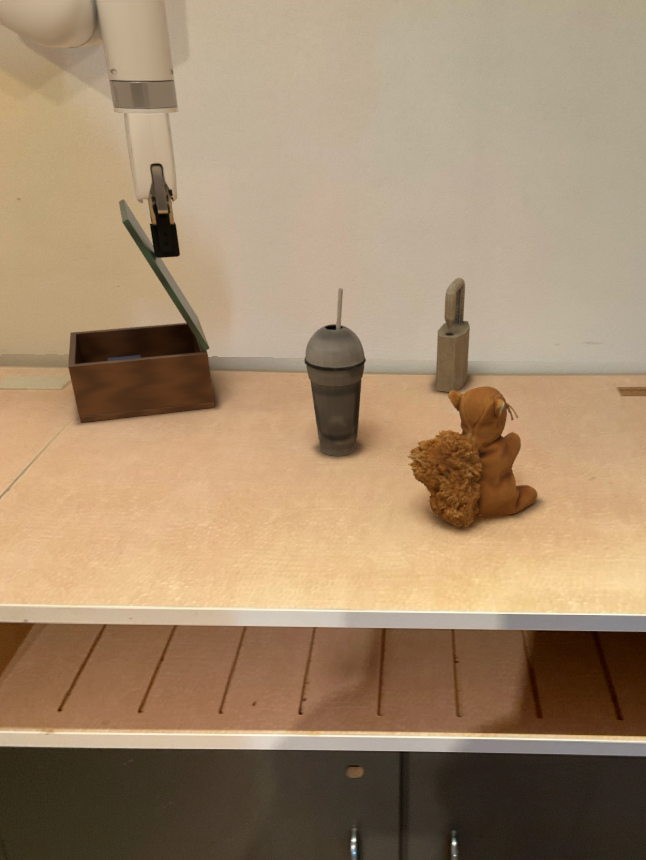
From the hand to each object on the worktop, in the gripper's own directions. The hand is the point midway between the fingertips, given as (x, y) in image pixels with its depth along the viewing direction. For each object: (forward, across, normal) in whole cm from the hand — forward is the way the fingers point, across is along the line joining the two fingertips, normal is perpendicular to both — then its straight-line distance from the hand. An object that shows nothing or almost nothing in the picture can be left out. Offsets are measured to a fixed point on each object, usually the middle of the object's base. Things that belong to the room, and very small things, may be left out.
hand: (167, 255), depth 105 cm
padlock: (+19, +8, +38) cm, 44 cm away
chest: (+19, 0, -6) cm, 20 cm away
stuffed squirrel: (+19, +44, +26) cm, 55 cm away
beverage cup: (+19, +25, +16) cm, 35 cm away
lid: (+3, 0, -1) cm, 3 cm away
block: (+18, 0, -8) cm, 20 cm away
